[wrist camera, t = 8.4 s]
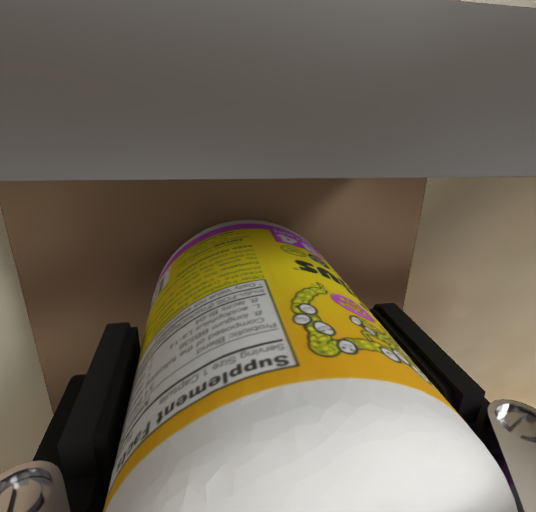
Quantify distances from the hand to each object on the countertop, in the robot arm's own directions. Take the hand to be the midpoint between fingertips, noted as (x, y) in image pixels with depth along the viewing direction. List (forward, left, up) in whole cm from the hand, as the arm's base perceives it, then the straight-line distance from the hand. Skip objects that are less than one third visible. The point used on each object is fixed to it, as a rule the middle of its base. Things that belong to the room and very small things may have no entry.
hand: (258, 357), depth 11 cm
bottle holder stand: (0, 0, -6) cm, 6 cm away
